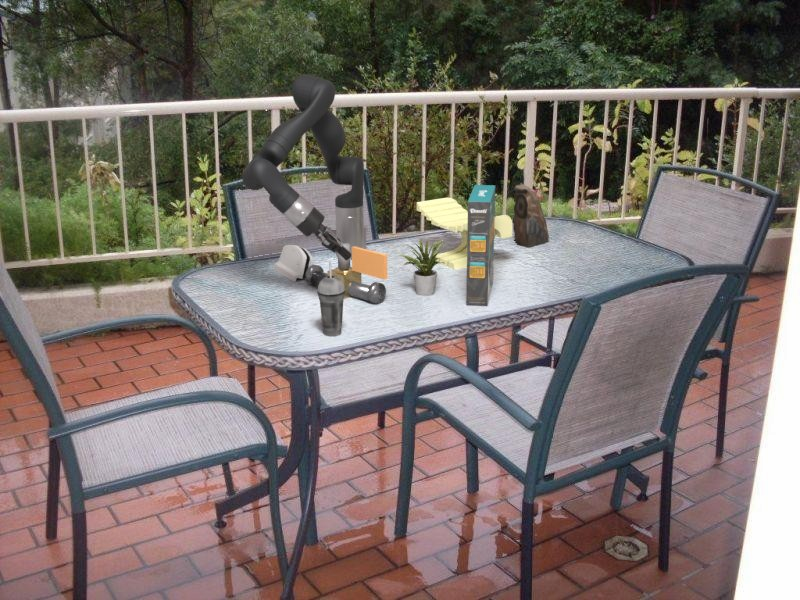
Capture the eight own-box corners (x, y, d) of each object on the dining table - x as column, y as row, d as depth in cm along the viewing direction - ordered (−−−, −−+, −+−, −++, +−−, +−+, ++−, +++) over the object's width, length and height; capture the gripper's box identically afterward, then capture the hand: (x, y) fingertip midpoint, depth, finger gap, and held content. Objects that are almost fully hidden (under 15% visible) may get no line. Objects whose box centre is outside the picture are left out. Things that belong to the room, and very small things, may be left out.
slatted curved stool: (510, 267, 296) (512, 213, 290) (471, 276, 288) (472, 220, 282) (454, 246, 320) (455, 196, 314) (416, 254, 311) (416, 202, 305)
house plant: (422, 281, 283) (422, 229, 278) (459, 290, 275) (460, 236, 269) (392, 293, 273) (392, 239, 267) (430, 302, 264) (430, 247, 259)
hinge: (272, 268, 297) (280, 238, 295) (285, 271, 299) (293, 241, 298) (294, 282, 283) (303, 251, 282) (307, 285, 286) (316, 254, 284)
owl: (528, 249, 316) (530, 191, 310) (499, 242, 325) (501, 186, 318) (550, 241, 325) (553, 185, 318) (522, 235, 333) (524, 180, 327)
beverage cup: (346, 328, 245) (344, 255, 239) (346, 338, 238) (344, 263, 232) (319, 328, 245) (316, 255, 239) (317, 338, 238) (315, 264, 232)
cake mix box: (473, 281, 282) (474, 184, 272) (492, 282, 281) (495, 185, 272) (466, 305, 262) (467, 201, 252) (487, 306, 261) (490, 202, 251)
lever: (335, 267, 270) (334, 244, 268) (344, 265, 272) (343, 241, 270) (381, 281, 258) (381, 256, 255) (390, 278, 260) (390, 253, 258)
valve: (321, 281, 284) (320, 257, 282) (387, 300, 266) (387, 275, 264) (304, 286, 279) (303, 262, 277) (370, 306, 261) (370, 281, 259)
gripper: (295, 219, 261) (340, 260, 265) (292, 231, 248) (339, 273, 253) (313, 200, 259) (358, 241, 264) (311, 211, 247) (359, 254, 251)
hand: (349, 257), depth 258 cm, fingers closed
